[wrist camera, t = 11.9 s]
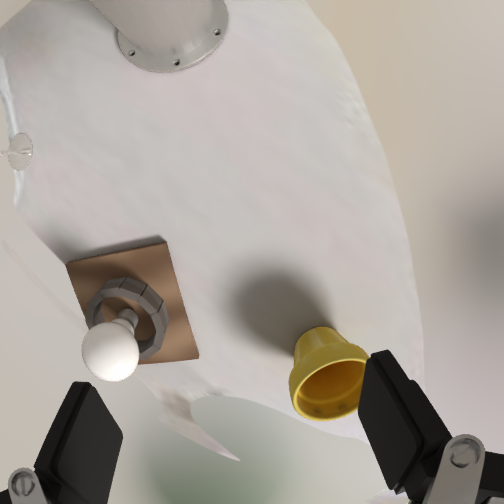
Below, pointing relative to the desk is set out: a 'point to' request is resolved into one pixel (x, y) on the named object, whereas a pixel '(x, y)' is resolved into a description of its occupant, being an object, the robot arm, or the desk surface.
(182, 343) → the bulb holder
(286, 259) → the desk surface
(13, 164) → the wineglass
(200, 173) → the desk surface
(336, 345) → the plant pot
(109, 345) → the lightbulb
